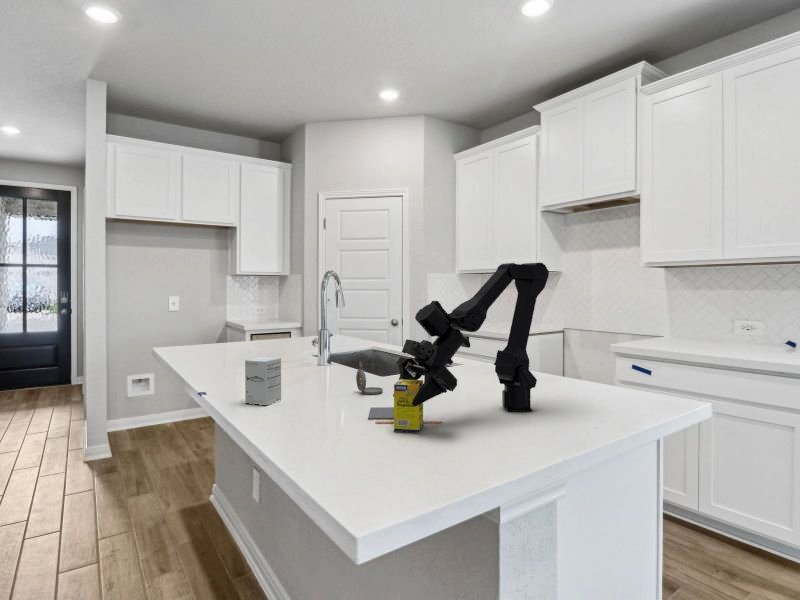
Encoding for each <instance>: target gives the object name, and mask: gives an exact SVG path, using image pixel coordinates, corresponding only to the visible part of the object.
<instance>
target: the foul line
mask: <svg viewBox="0 0 800 600" xmlns="http://www.w3.org/2000/svg"><path fill="white" fill-rule="evenodd" d="M375 424H379V425H380V424H381V425H382V424H390V425H391V424H394V420H375ZM423 424H443V421H442V420H423Z"/></svg>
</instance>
